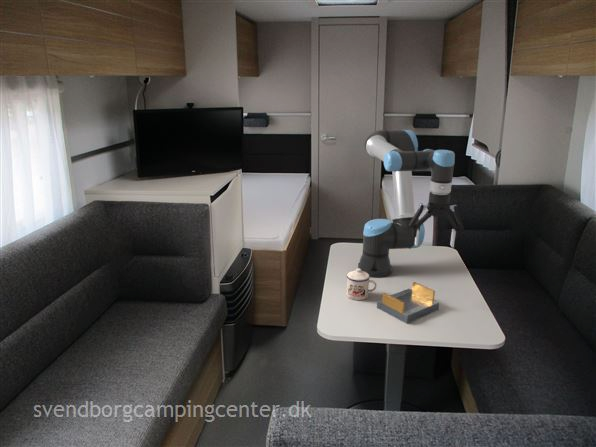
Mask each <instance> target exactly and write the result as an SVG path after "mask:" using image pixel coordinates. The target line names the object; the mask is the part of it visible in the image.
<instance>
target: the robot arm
mask: <svg viewBox="0 0 596 447" xmlns="http://www.w3.org/2000/svg"><path fill="white" fill-rule="evenodd" d="M363 147H364V151H365V153H367V154H368V156H371V157H373V158H377V159H379V160H381V161H382V162H383V166H384V169H385V171H387V172H392V188H393V199H394V202H393V203H394V213H395V215H394V217H393V218H392V220H389V219H386V218H375V219H371V220H369V221H367V222H366V223H365V224H364V227H363V237H362V239H363V240H362V254H361V256H360V259H359V262H358V265H357V269H358V268H359V269H361V271H364V272H366V273H368V274H369V276H370V278H383V277H388V276H390V275H391V274H392V269H393V268H392V265H391V260H390V255H389V254H390V250H402V249H403V250H404V249H409V250H411V249H418V248H419V247H421V246H422V244H423V242H424V239H425V234H426V230H425V224H424V223H425V222H427V220H429V219H430V218H431V217H434V218H437V217H438V218H443V217H445V219H446V220H447V221H448V222H449V224H450V225H451V226H452V227H453V228H452V229H451V235H450V244H449V245H450V246H451V248H455V240H457V239H458V237H459V232H460V231H461V230H462V231H463V230H464V229H465V227H464V225H463V224H464V223H463V221H462V219H461V217H460V214H459V208H458V205H457V204H453V205H450V199H451V194H450V193H451V191H452V184H453V182H452V181H453V176H454V168H455V159H456V158H455V157H456V155H455V152H454V151H452V150H448V149H436V150H434V149H431V148H430V149H429V148H426V149H424V150H419V149H418V148H419V142H418V138H417V136H416V133H414V131H413V130H410V129H378V130H375V131H372V132H371V133H370V134H368V135H367V136H366V137H365V139H364V144H363ZM412 172H431V176H430V186H429V191H430V192H429V194H428V195H429V196H428V201H427V202H428V203H427V204H423V203H422V202H421V203H419V205H418V209H417V211H416V212H415V199H414V198H415V197H414V196H415V195H414V185H413V173H412ZM426 209H427V211H426V212H425V214H424V215H422V214H423V212H424V211H425V210H426ZM450 210H451V211H452V212H453V214H454V217H455V220H456V221H457V224H458V226H457V224H456V223H455V222H454V220H453V219H452V218H451V217H450V215H449V214H448V212H449V211H450ZM421 215H422V217H421ZM391 221H392V222H391Z"/></svg>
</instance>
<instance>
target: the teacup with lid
mask: <svg viewBox="0 0 596 447" xmlns="http://www.w3.org/2000/svg"><path fill="white" fill-rule="evenodd" d="M346 278H347V279H346V297H347V298H349V299H351V300H353V301H363V300H366V299H368V296H369V293H373V292H374V291H376V289H377V286H378V285H377V281H375V280H372V279H370V278H371V277H370V276H369V274H368V273H366V272H364V271H361V269H359V268H358V267H357V268H356V269H355V270H350V271H349V272H348V273H347V275H346ZM369 283H373V284H374V286H373V288H372V289H369V285H370V284H369Z"/></svg>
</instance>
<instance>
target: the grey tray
mask: <svg viewBox="0 0 596 447" xmlns="http://www.w3.org/2000/svg"><path fill="white" fill-rule="evenodd" d="M435 293H436V291H435V290H434V289H432V288H429V287H427V286H424V285H423V284H420V283H418V282H417V281H416V282H415V281H414V282H412V288H407V289H403V290H402V291H399V292H395V293H394V294H388V293H385V292H384V293H382V298H380V299H377V303H376V308H377V309H379V310H381V311H382V312H384V313H386V314H388V315H390V316H392V317H394V318H395V319H398V320H400V321H401V322H403V323H405V324H410V323H412V322H414V321H417V320H419V319H421V318H423V317H425V316H428V315H430V314H432V313H435V312H437V311H439V307H440V301H437V300H435V296H436V294H435Z"/></svg>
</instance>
